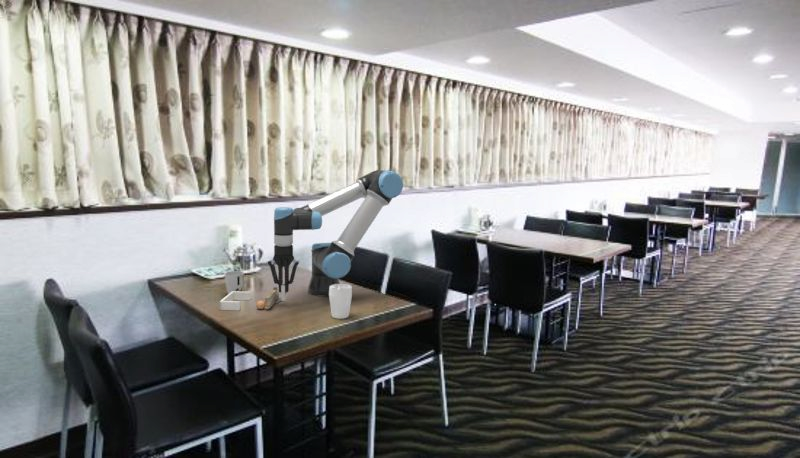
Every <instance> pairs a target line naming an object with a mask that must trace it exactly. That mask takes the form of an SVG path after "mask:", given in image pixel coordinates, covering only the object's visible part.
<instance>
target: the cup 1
mask: <svg viewBox="0 0 800 458" xmlns="http://www.w3.org/2000/svg"><path fill="white" fill-rule="evenodd" d="M244 276H245V272H244V271H242V270H241V271H240V270H232V271H231V270H230V271H227V272H224V282H225V288H226V292H227V295H228V294H229V293H230V292H232V291H241V292H243V288H244V287H243V286H244V280H245V279H244Z"/></svg>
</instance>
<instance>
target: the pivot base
mask: <svg viewBox="0 0 800 458" xmlns="http://www.w3.org/2000/svg"><path fill="white" fill-rule="evenodd" d="M281 302H283V301H281V297H279V299H278V300H276V301H275V302H274V304H279V303H281Z"/></svg>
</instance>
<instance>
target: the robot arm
mask: <svg viewBox="0 0 800 458" xmlns="http://www.w3.org/2000/svg"><path fill="white" fill-rule="evenodd" d="M403 187H404V183H403V179H402V177H401V175H400V174H399V173H397V172H396V171H392V170H385V169H384V170H383V169H376V170H373V171H371V172H368V173H367V174H364V175H363V176H361V177H360V178H357V179H355V182H353V183H352V184H348V185H347V186H345V187H343V188H340V189H339V190H336V191H333V192H332V193H330V194H328V195H326V196H323V197H321V198H319V199H317V200H314V201H313V202H310V203H308V204H307V205H304V206H302V207H295V208H293V207H290V206H277V207H276V208H274V210H273V211H274V213H273V232H274V233H273V236H274V237H273V239H274V240H273V244H274V247H273V252H274V253H273V257H272V259H270V260H269V261H267V265H268V266H269V267H270V272H271V275H272V278H273V282H274V284H276V285H278V289H279V293H281V295H280V296H281V297H280V298H281V301H282V302H284V301H286V300H287V293H288V292H289V290H290V288H289V287H290V286H289V285H292V284H293V283H294V279H295V275H296V271H297V267H298V265H299V264H300V260H297V259H295V257H294V245H293V244H294V233H293V232H294V231H300V230H302V231H306V230H309V231H315V230H320V229H321V228H322V225H323V217H324V216H326V215H328V214H330V213H332V212H334V211H336V210H338V209H340V208H342V207H344V206H347V205H349V204H351V203H353V202H355V201H357V200H359V199H364V200H363V201H362V203H361V204H360V206H359V207H358V209H357V210H356V211H355V213H354V214H353V216H352V218H351V219H350V220H349V222H348V223H347V225H346V227H345V228H344V229H343V231H342V232H341V234H340V236H339V237H338V239H337V240H333V241H331V242H317V243H313V244H312V246H311V276H310V280H309V284H308V287H307V293H308V294H311V296H312V295H313V296H319V297H322V296H323V297H329V287H330V286H331V285H334V284H341V283H340V280H339V279H341V278H344V277H345V276H346V275H348V274H349V272H350V270H351V268H352V263H351V262H352V261H353V259H354V258H355V249H356V248H357V246H358V245H359V244H360V242H361V241H362V239H363V238H364V236H365V235H366V233H367V231H368V230H369V228H370V227H371V225H373V224H372V223H373V222H374V221H375V219H376V218H377V217H378V214H379V213H380V211H381V210H382V209H383V207H385V206H389V205H390V203H391V202H392V200H393V199H395V198H397V197H398V196H399V195H401V193H402V192H403V190H404V189H403ZM275 264H276V266H277V268H278V269H277V270H278V273H277V270H276V266H275ZM291 264H292V268H291V273H290V265H291ZM283 268H284V269H283ZM283 270H284V272H283ZM283 275H284V277H283ZM283 279H284V281H283Z"/></svg>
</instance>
